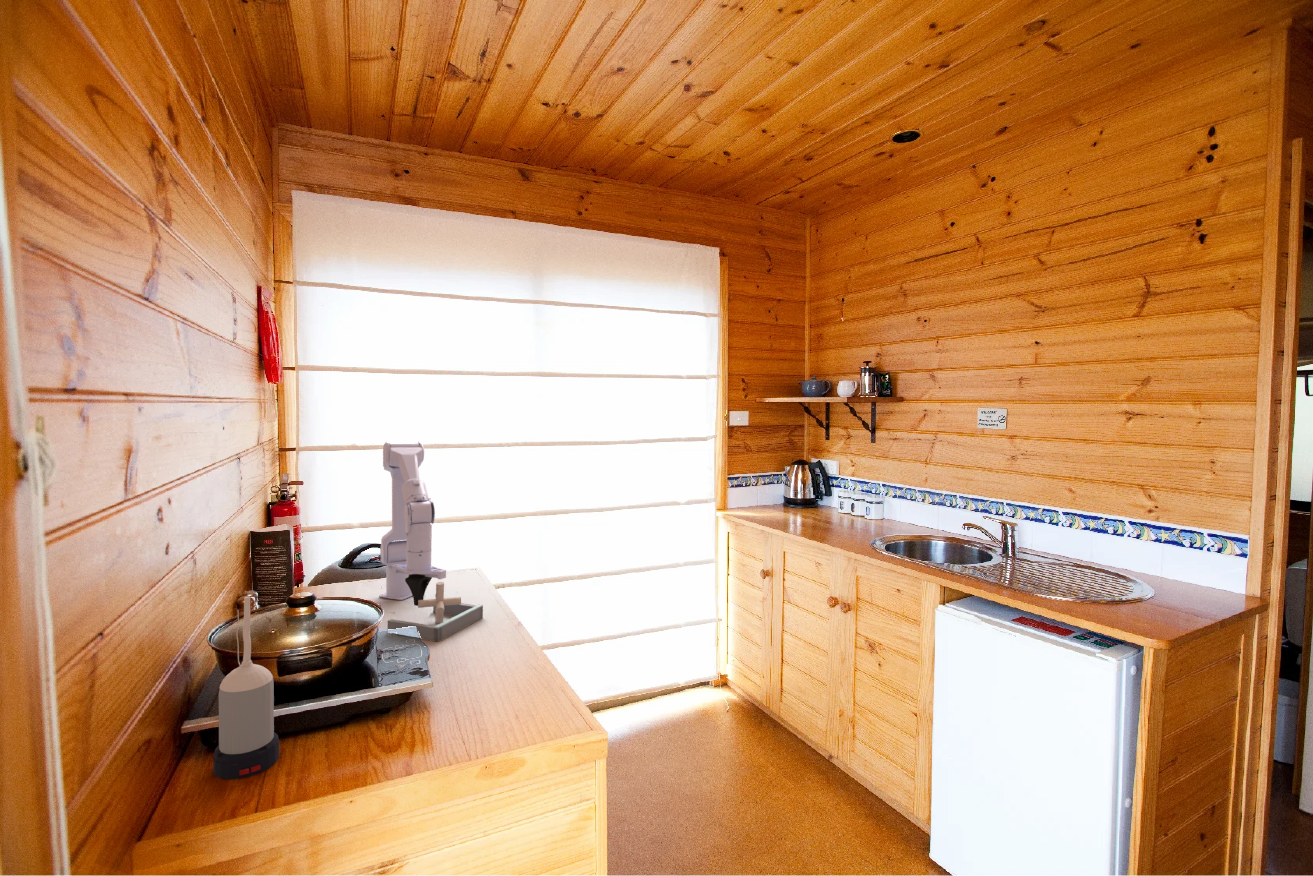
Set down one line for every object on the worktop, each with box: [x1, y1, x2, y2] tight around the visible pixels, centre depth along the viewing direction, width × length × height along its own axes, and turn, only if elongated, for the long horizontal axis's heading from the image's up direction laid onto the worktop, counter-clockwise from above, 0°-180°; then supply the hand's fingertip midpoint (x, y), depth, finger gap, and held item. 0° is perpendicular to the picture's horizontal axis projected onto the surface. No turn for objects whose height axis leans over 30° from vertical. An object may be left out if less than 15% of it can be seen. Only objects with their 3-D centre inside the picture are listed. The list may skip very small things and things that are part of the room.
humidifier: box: [212, 596, 280, 781], centre depth 90 cm, size 8×8×25 cm
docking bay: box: [387, 602, 484, 643], centre depth 149 cm, size 14×17×3 cm
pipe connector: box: [417, 581, 462, 624], centre depth 151 cm, size 10×10×10 cm
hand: (418, 604), depth 150 cm, fingers closed, pressing on pipe connector
